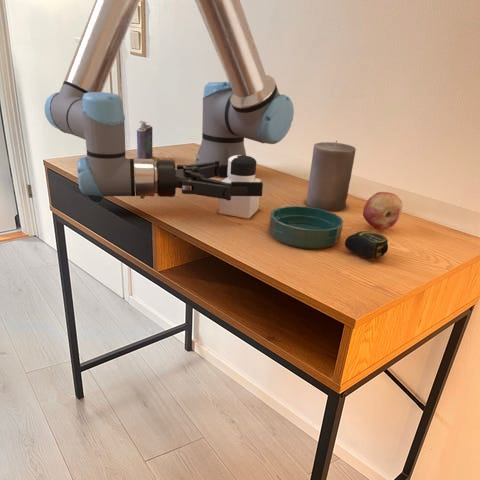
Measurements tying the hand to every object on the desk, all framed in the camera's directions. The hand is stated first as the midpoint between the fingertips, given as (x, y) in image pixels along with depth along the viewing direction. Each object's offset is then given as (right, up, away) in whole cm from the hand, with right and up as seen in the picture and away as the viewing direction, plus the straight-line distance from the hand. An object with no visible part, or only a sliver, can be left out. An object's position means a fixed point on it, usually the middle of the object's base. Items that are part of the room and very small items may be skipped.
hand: (254, 180), depth 107 cm
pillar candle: (+17, -3, +13) cm, 22 cm away
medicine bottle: (-4, -6, +3) cm, 8 cm away
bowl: (+10, -13, -7) cm, 18 cm away
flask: (-31, +16, +38) cm, 52 cm away
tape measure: (+20, -19, -14) cm, 31 cm away
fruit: (+27, -11, 0) cm, 29 cm away
